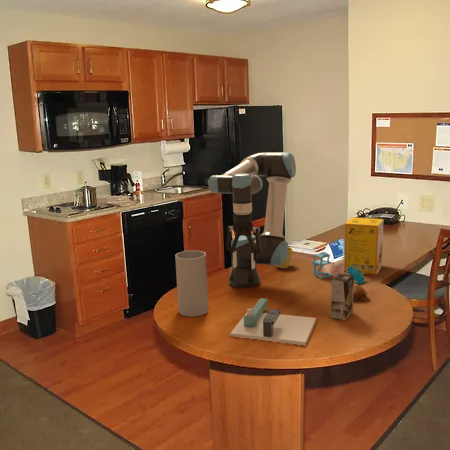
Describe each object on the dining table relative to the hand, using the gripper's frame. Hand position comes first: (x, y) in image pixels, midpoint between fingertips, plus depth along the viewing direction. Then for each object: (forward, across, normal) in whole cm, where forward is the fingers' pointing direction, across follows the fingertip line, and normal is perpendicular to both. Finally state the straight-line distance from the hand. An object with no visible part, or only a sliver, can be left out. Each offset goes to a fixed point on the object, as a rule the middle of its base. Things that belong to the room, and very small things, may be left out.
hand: (244, 267), depth 209 cm
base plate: (+19, +16, -14) cm, 29 cm away
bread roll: (+19, +42, +27) cm, 54 cm away
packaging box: (+19, +42, +70) cm, 84 cm away
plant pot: (+19, +1, +64) cm, 67 cm away
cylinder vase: (+19, -21, -6) cm, 29 cm away
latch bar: (+17, +7, -7) cm, 20 cm away
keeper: (+18, +16, -18) cm, 30 cm away
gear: (+19, +41, +47) cm, 65 cm away
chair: (+19, +23, +54) cm, 62 cm away
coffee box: (+19, +39, +6) cm, 44 cm away
